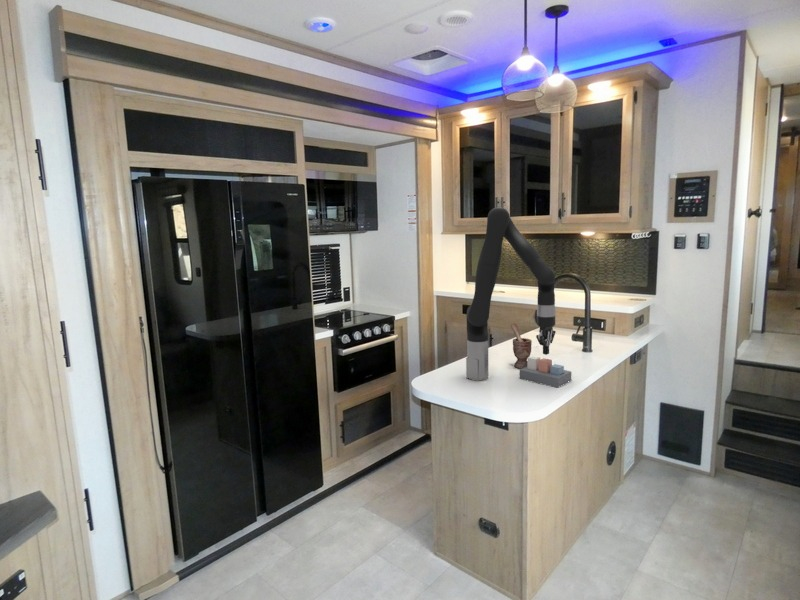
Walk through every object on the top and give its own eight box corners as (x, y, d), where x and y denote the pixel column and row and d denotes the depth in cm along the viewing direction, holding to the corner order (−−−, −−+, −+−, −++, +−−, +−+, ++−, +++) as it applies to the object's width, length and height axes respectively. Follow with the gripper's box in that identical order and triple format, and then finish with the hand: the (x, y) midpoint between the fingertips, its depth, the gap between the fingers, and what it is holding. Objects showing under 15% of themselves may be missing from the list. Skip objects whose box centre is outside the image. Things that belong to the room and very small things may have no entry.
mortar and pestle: (503, 365, 229) (503, 325, 226) (513, 361, 235) (514, 322, 232) (524, 370, 221) (525, 328, 218) (534, 366, 227) (535, 325, 223)
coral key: (547, 373, 204) (547, 361, 203) (538, 371, 207) (538, 360, 206) (551, 370, 207) (552, 359, 206) (543, 369, 210) (543, 358, 209)
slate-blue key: (559, 379, 201) (559, 368, 200) (550, 377, 203) (550, 366, 203) (563, 377, 203) (563, 365, 203) (554, 375, 206) (555, 364, 205)
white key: (535, 370, 208) (535, 359, 207) (527, 368, 211) (527, 357, 210) (540, 368, 211) (540, 357, 210) (532, 366, 214) (532, 355, 213)
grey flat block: (557, 387, 197) (557, 378, 196) (519, 378, 210) (519, 369, 209) (571, 380, 205) (571, 371, 205) (533, 372, 218) (533, 363, 217)
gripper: (546, 318, 196) (546, 359, 199) (561, 312, 205) (561, 352, 208) (530, 316, 201) (530, 356, 204) (545, 311, 210) (545, 349, 213)
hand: (546, 353), depth 206 cm, fingers closed
